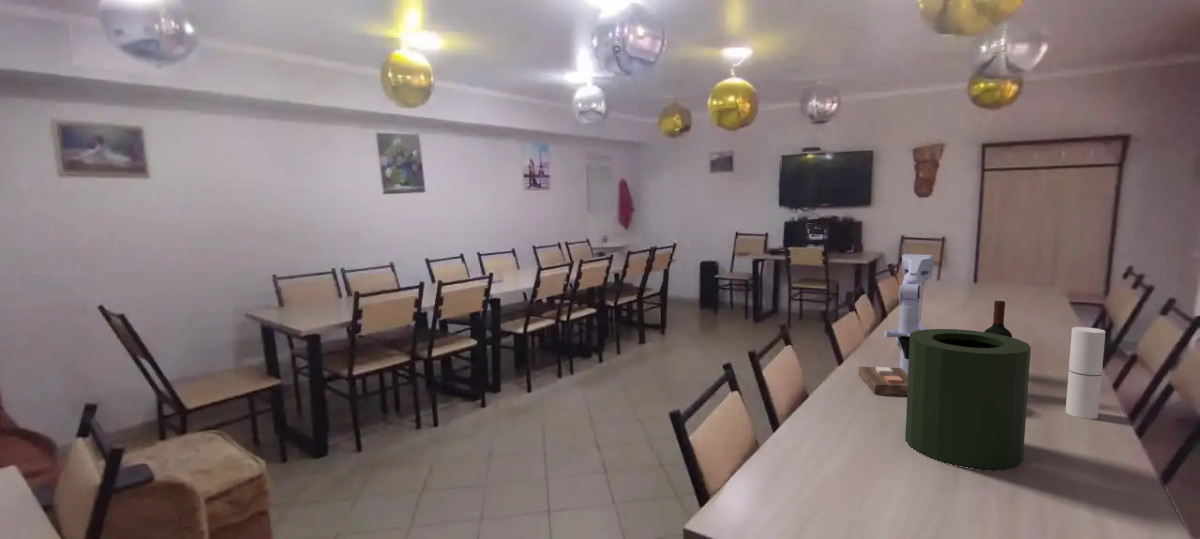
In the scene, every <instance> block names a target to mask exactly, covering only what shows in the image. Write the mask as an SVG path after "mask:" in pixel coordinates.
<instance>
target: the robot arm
mask: <svg viewBox="0 0 1200 539" xmlns="http://www.w3.org/2000/svg"><path fill="white" fill-rule="evenodd" d="M901 259H902V260H901V269H902V275H903V280H902V284H900V285H899V287H898V300H899V301H898V303H899V304H898V305H899V322H898V323H899V324H898V327H897V329H894V330H884V335H883V336H884V337H885V338H886V339H887V338H895V344H896V347H898V348H899V350H900V351H899V368H902V369H903V370H904V371H905V372H906V373H907V374H908V366H909V343H910V334H911V333H913V332H915V331H920V330H927V329H928V327H927V326H925V325H924V324H922V323H921V320H922V308H923V306H922V305H923V296H924V295H923V293H924V286H925V284H926V282H927V281H929V280H931V279H932V277H933V269H934V255H933V254H914V253H913V254H910V253H909V254H908V253H904V254H903V255H902V258H901Z"/></svg>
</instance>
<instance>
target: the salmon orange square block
mask: <svg viewBox="0 0 1200 539" xmlns="http://www.w3.org/2000/svg"><path fill="white" fill-rule="evenodd" d="M884 379H885V380H886V381H887V382H888V383H903V380H902V379H901V378H900V377H899V376H884Z"/></svg>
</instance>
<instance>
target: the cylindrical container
mask: <svg viewBox="0 0 1200 539" xmlns="http://www.w3.org/2000/svg"><path fill="white" fill-rule="evenodd" d="M1070 338H1071V339H1070V349H1069V361H1068V362H1069V363H1068V375H1067V376H1068V377H1067V388H1066V403H1065V413H1066V414H1068V415H1070V416H1072V417H1075V418H1079V417H1080V419H1085V418H1086V419H1087V420H1096V419H1098V418H1099V409H1100V400H1101V390H1102V389H1101V385H1102V374H1103V365H1104V364H1103V362H1104V354H1105V344H1106V343H1105V340H1106V330H1104V329H1101V328H1096V327H1085V326H1075V327H1074V326H1073V327H1071V337H1070Z"/></svg>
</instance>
